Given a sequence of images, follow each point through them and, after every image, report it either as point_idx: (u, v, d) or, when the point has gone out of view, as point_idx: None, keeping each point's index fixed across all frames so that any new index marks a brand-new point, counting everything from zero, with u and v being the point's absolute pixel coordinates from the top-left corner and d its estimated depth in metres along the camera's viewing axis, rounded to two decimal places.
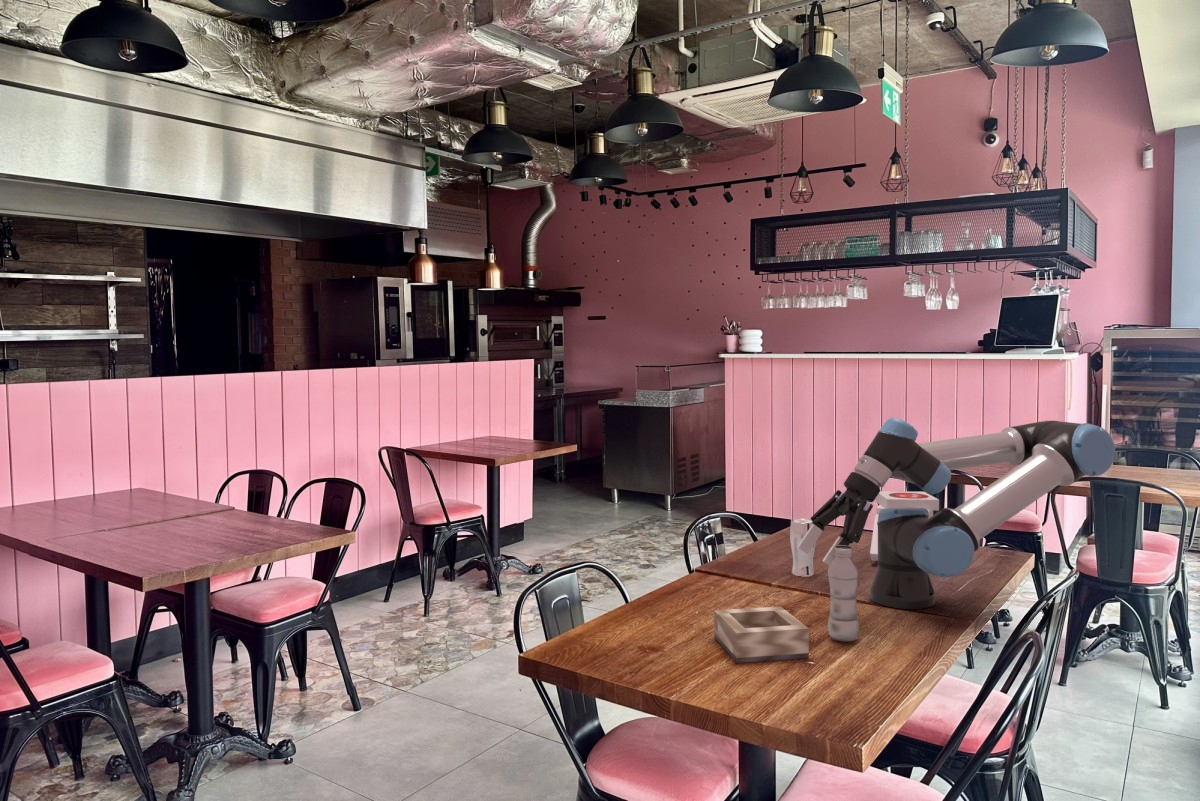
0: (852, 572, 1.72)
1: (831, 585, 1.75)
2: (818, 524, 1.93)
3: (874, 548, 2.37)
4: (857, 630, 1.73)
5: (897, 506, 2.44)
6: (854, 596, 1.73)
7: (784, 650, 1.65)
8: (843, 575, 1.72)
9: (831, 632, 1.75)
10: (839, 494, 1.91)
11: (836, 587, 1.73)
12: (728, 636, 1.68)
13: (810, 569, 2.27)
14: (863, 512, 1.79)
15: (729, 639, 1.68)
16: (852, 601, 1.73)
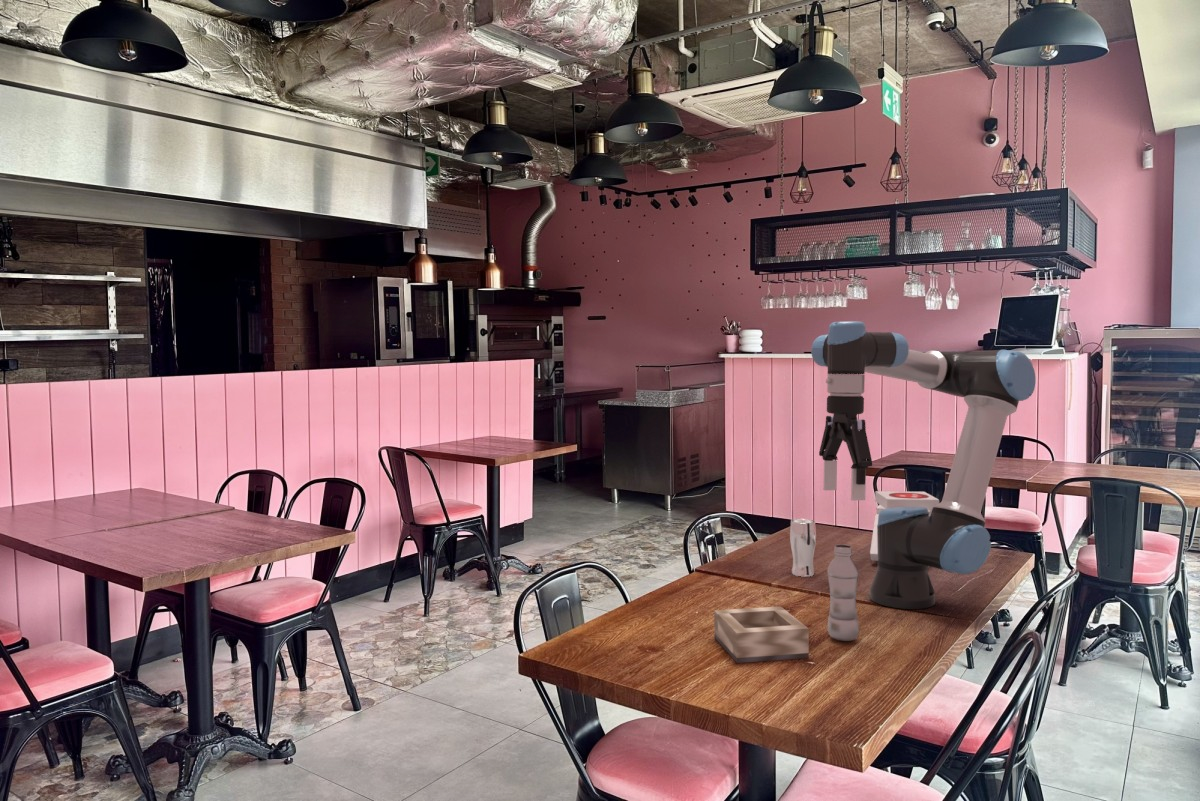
0: (851, 571, 1.73)
1: (831, 584, 1.75)
2: (829, 457, 1.82)
3: (874, 548, 2.37)
4: (857, 629, 1.74)
5: (897, 506, 2.44)
6: (854, 595, 1.74)
7: (784, 650, 1.65)
8: (843, 573, 1.73)
9: (830, 631, 1.75)
10: (830, 419, 1.80)
11: (836, 586, 1.74)
12: (728, 636, 1.68)
13: (810, 569, 2.27)
14: (859, 432, 1.67)
15: (729, 639, 1.68)
16: (852, 600, 1.73)
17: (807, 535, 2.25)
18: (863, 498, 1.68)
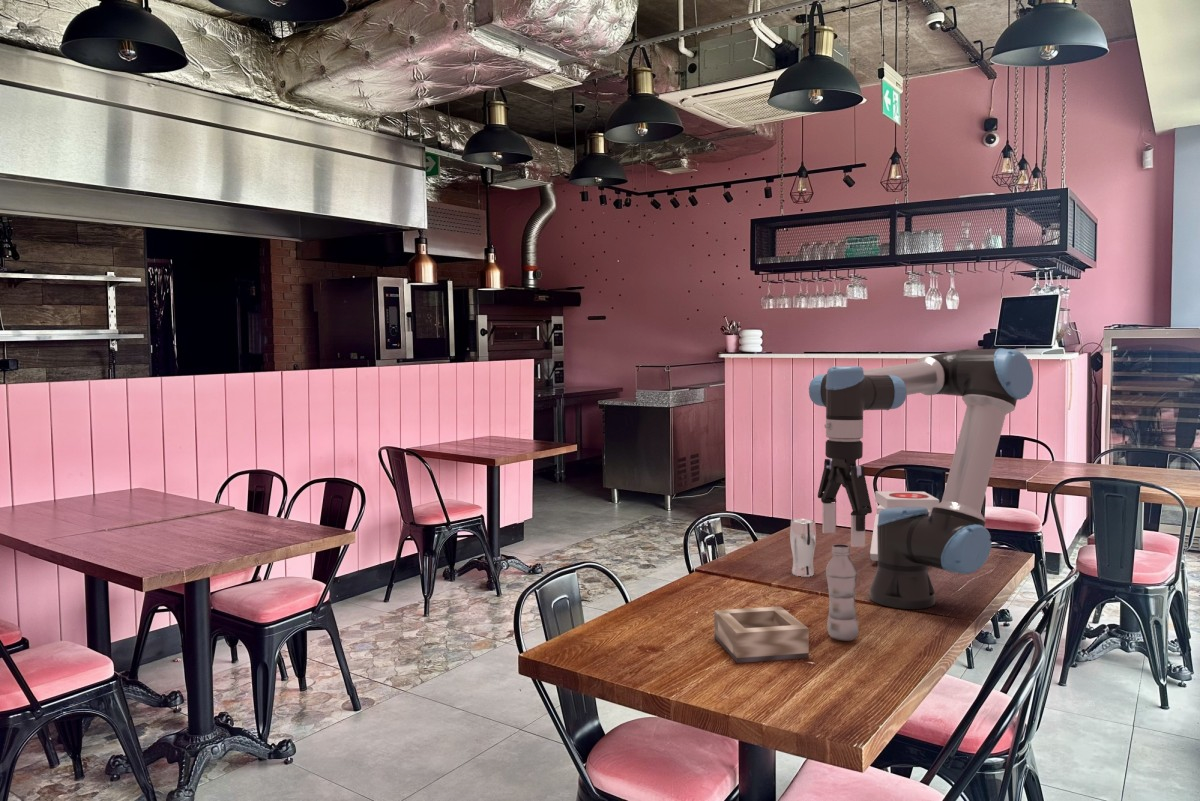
0: (849, 570, 1.73)
1: (829, 584, 1.75)
2: (828, 500, 1.81)
3: (874, 548, 2.37)
4: (856, 629, 1.74)
5: (897, 506, 2.44)
6: (852, 594, 1.74)
7: (784, 650, 1.65)
8: (840, 573, 1.73)
9: (830, 631, 1.75)
10: (828, 462, 1.79)
11: (834, 586, 1.74)
12: (728, 636, 1.68)
13: (810, 569, 2.27)
14: (859, 479, 1.67)
15: (729, 639, 1.68)
16: (850, 600, 1.74)
17: (807, 535, 2.25)
18: (863, 544, 1.68)
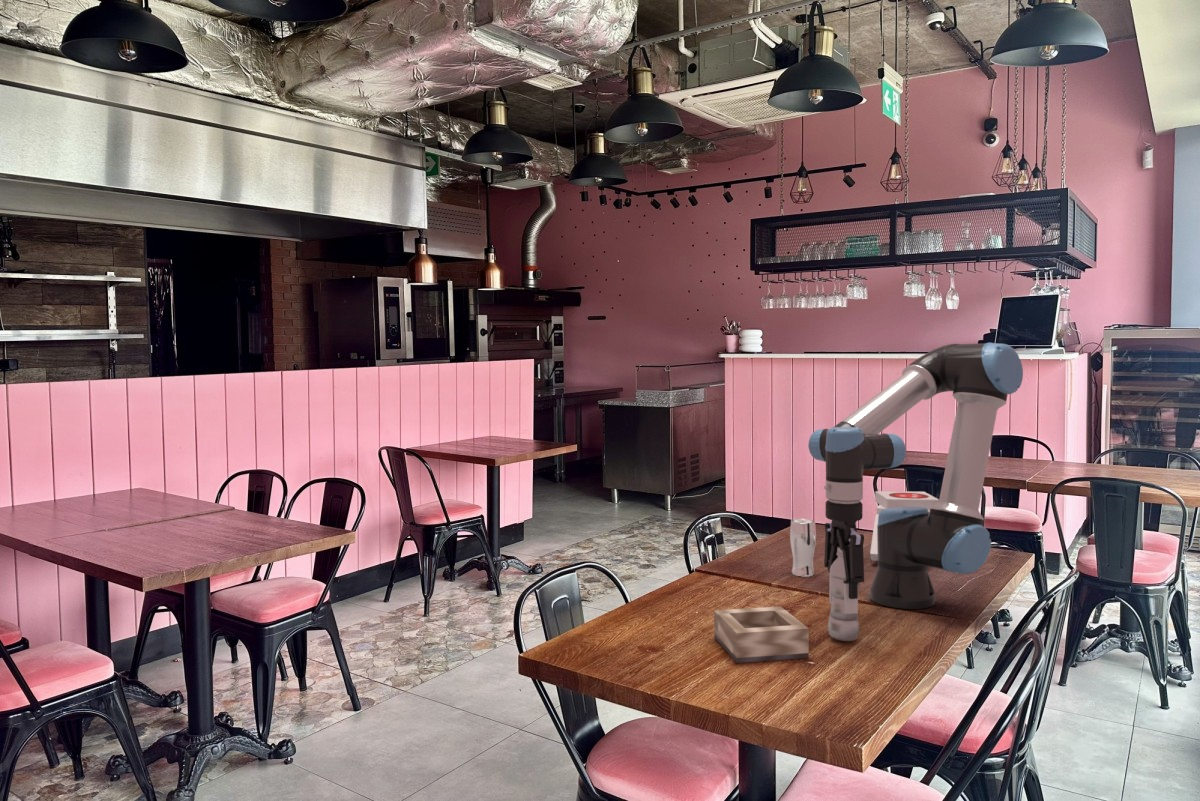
0: None
1: (832, 584, 1.75)
2: None
3: (874, 548, 2.37)
4: (857, 630, 1.73)
5: (897, 506, 2.44)
6: None
7: (784, 650, 1.65)
8: (844, 574, 1.72)
9: (830, 631, 1.75)
10: (829, 526, 1.80)
11: (837, 586, 1.73)
12: (728, 636, 1.68)
13: (810, 569, 2.27)
14: (857, 548, 1.69)
15: (729, 639, 1.68)
16: None
17: (807, 535, 2.25)
18: (856, 611, 1.72)
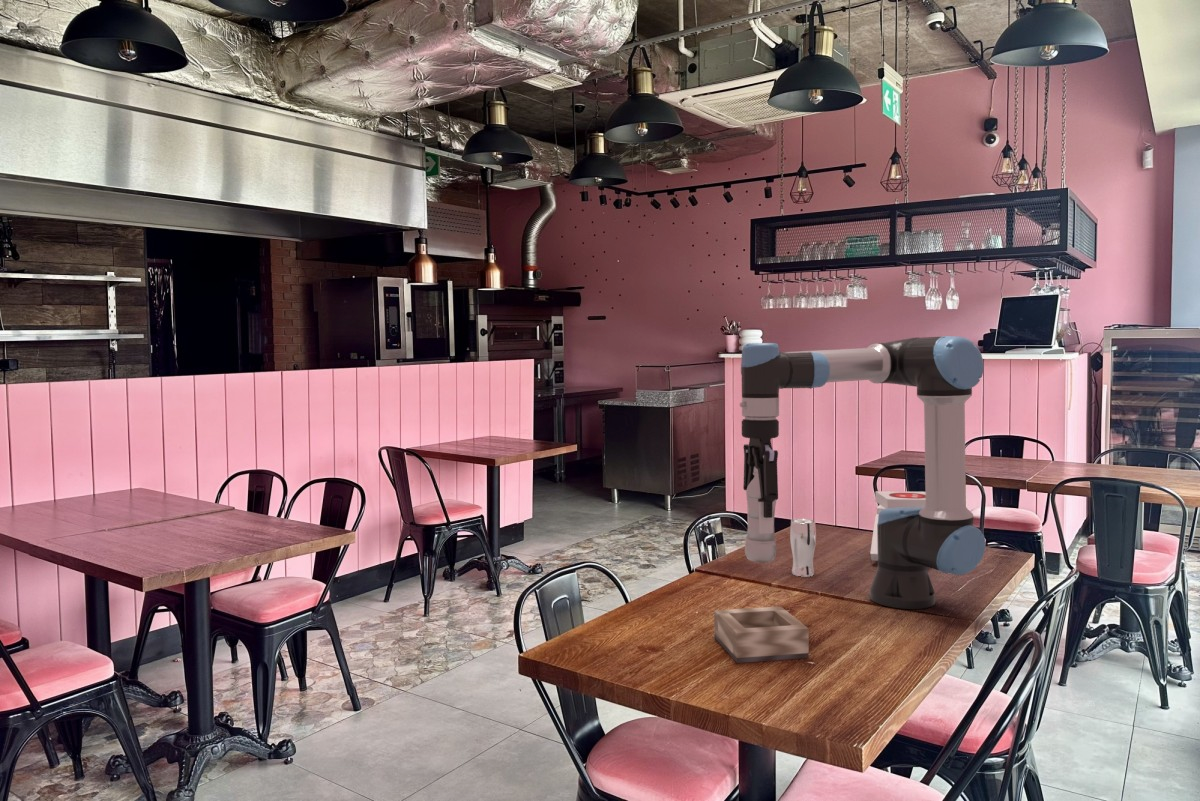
0: None
1: (748, 505, 1.70)
2: None
3: (874, 548, 2.37)
4: (773, 551, 1.68)
5: (897, 506, 2.44)
6: None
7: (784, 650, 1.65)
8: (759, 493, 1.67)
9: (747, 553, 1.70)
10: (747, 447, 1.75)
11: (753, 506, 1.68)
12: (728, 636, 1.68)
13: (810, 569, 2.27)
14: (770, 465, 1.64)
15: (729, 639, 1.68)
16: None
17: (807, 535, 2.25)
18: (771, 531, 1.67)
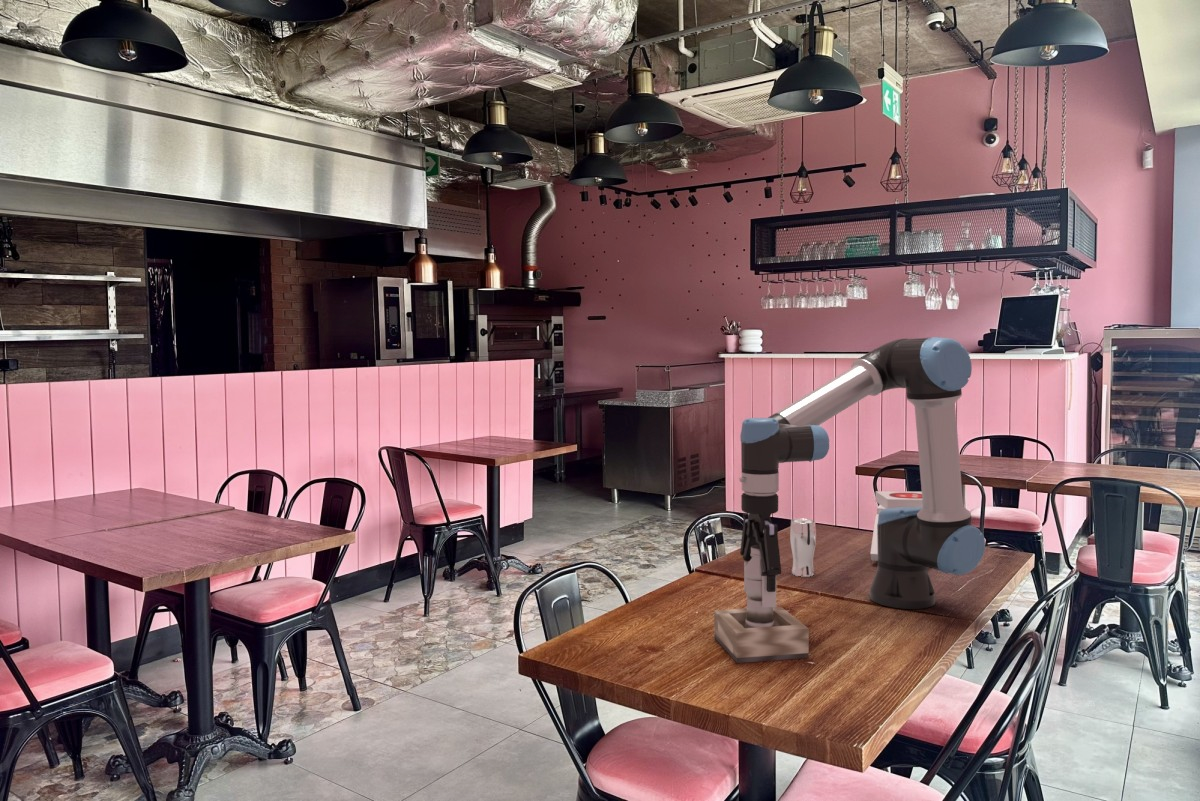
0: None
1: (746, 586, 1.71)
2: (749, 558, 1.77)
3: (874, 548, 2.37)
4: None
5: (897, 506, 2.44)
6: None
7: (784, 650, 1.65)
8: (757, 575, 1.69)
9: None
10: (747, 516, 1.76)
11: (751, 588, 1.70)
12: (728, 636, 1.68)
13: (810, 569, 2.27)
14: (771, 539, 1.64)
15: (729, 639, 1.68)
16: None
17: (807, 535, 2.25)
18: (774, 605, 1.66)
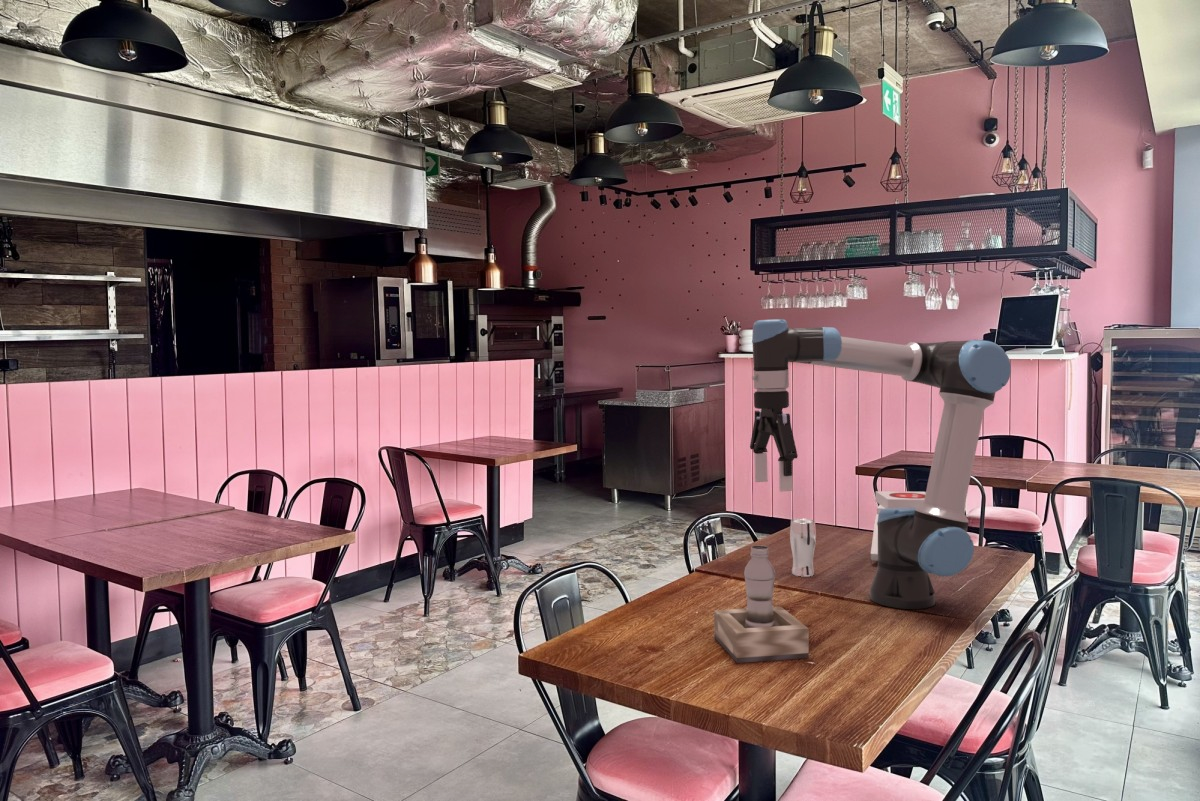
0: (767, 573, 1.69)
1: (746, 586, 1.71)
2: (759, 450, 1.89)
3: (874, 548, 2.37)
4: None
5: (897, 506, 2.44)
6: (769, 597, 1.69)
7: (784, 650, 1.65)
8: (757, 575, 1.69)
9: None
10: (758, 414, 1.87)
11: (751, 588, 1.70)
12: (728, 636, 1.68)
13: (810, 569, 2.27)
14: (785, 426, 1.74)
15: (729, 639, 1.68)
16: (767, 602, 1.69)
17: (807, 535, 2.25)
18: (791, 489, 1.75)
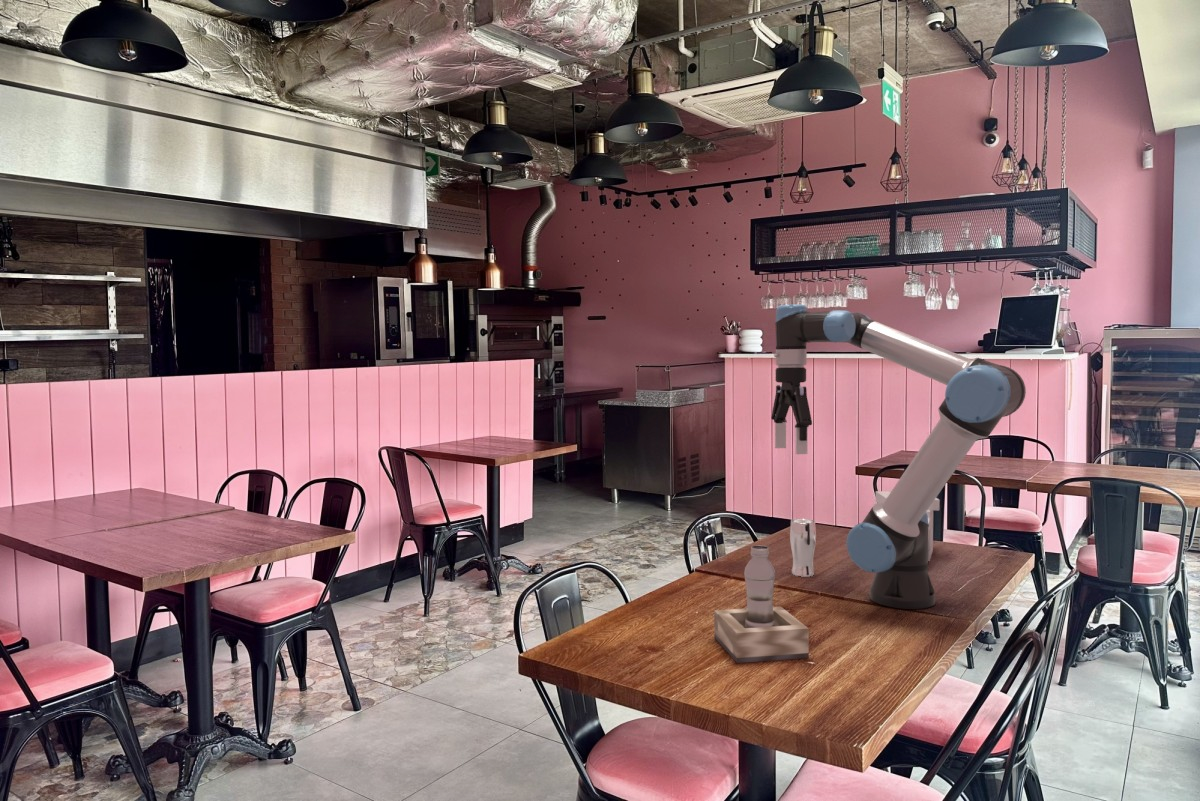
0: (767, 573, 1.69)
1: (747, 586, 1.71)
2: (779, 420, 2.14)
3: None
4: None
5: None
6: (769, 597, 1.69)
7: (784, 650, 1.65)
8: (757, 575, 1.69)
9: None
10: (779, 388, 2.12)
11: (751, 588, 1.70)
12: (728, 636, 1.68)
13: (810, 569, 2.27)
14: (801, 397, 2.00)
15: (729, 639, 1.68)
16: (767, 602, 1.69)
17: (807, 535, 2.25)
18: (805, 452, 2.01)
